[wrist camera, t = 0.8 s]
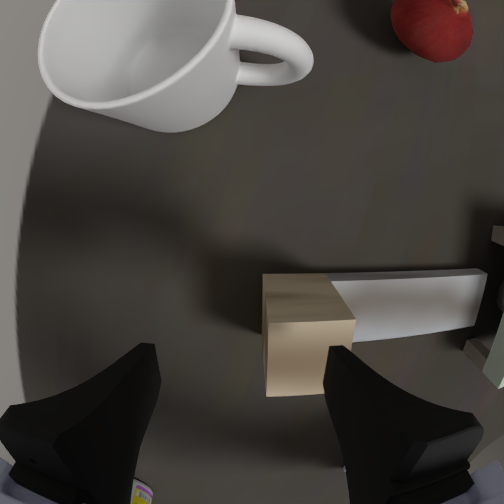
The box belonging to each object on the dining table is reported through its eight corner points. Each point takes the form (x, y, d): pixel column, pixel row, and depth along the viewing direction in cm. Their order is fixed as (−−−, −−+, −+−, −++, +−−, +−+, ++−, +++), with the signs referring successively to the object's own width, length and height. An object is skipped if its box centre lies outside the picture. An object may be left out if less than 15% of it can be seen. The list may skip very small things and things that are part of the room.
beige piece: (465, 317, 23) (507, 355, 16) (261, 334, 23) (266, 396, 16) (477, 268, 21) (527, 297, 15) (262, 273, 21) (268, 322, 15)
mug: (304, 41, 17) (345, -43, 7) (285, 151, 19) (323, 135, 9) (138, 27, 16) (73, -43, 6) (114, 130, 18) (17, 113, 8)
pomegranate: (400, 0, 15) (448, -44, 7) (448, 51, 16) (509, 25, 9) (360, 29, 16) (407, -22, 9) (414, 85, 17) (480, 60, 10)
